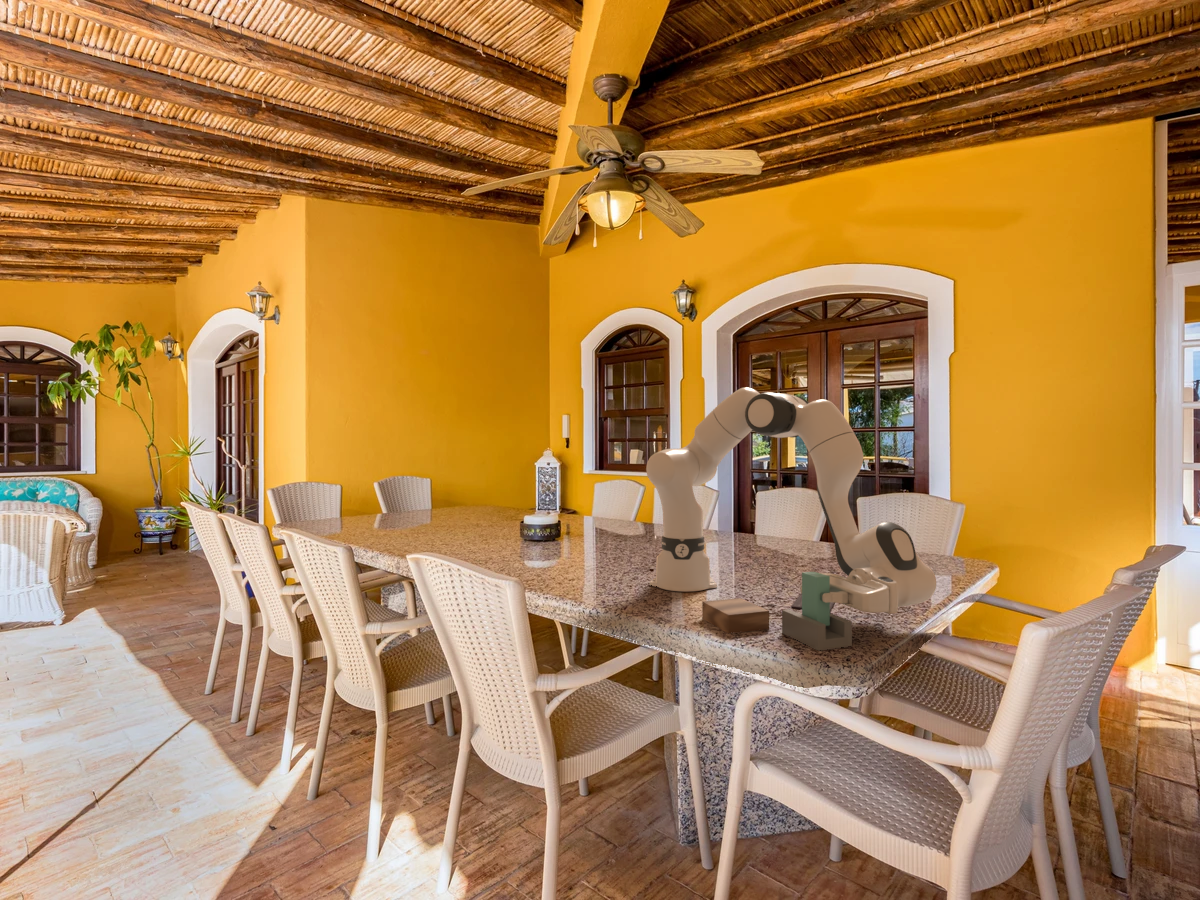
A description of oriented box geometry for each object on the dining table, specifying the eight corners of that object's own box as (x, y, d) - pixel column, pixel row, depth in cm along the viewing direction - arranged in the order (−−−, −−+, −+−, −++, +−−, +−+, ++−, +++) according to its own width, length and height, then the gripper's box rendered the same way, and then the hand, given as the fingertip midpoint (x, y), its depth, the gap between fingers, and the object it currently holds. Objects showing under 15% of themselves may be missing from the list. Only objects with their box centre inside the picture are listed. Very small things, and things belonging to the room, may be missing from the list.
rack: (782, 633, 135) (782, 609, 135) (813, 629, 138) (813, 606, 138) (817, 650, 124) (817, 625, 124) (851, 646, 126) (851, 621, 126)
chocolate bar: (791, 606, 155) (802, 590, 171) (791, 610, 155) (802, 594, 171) (830, 610, 151) (838, 594, 167) (830, 614, 151) (838, 597, 167)
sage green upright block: (802, 620, 133) (801, 572, 133) (814, 618, 134) (814, 571, 134) (817, 626, 128) (817, 577, 128) (829, 625, 129) (829, 576, 129)
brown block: (702, 618, 147) (702, 601, 147) (740, 614, 150) (740, 597, 150) (728, 633, 135) (728, 615, 135) (769, 629, 138) (769, 610, 138)
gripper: (834, 564, 145) (782, 569, 140) (903, 584, 125) (845, 589, 121) (834, 592, 145) (782, 597, 140) (903, 615, 125) (845, 622, 121)
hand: (812, 593), depth 130 cm, fingers closed on sage green upright block, 5 cm apart
